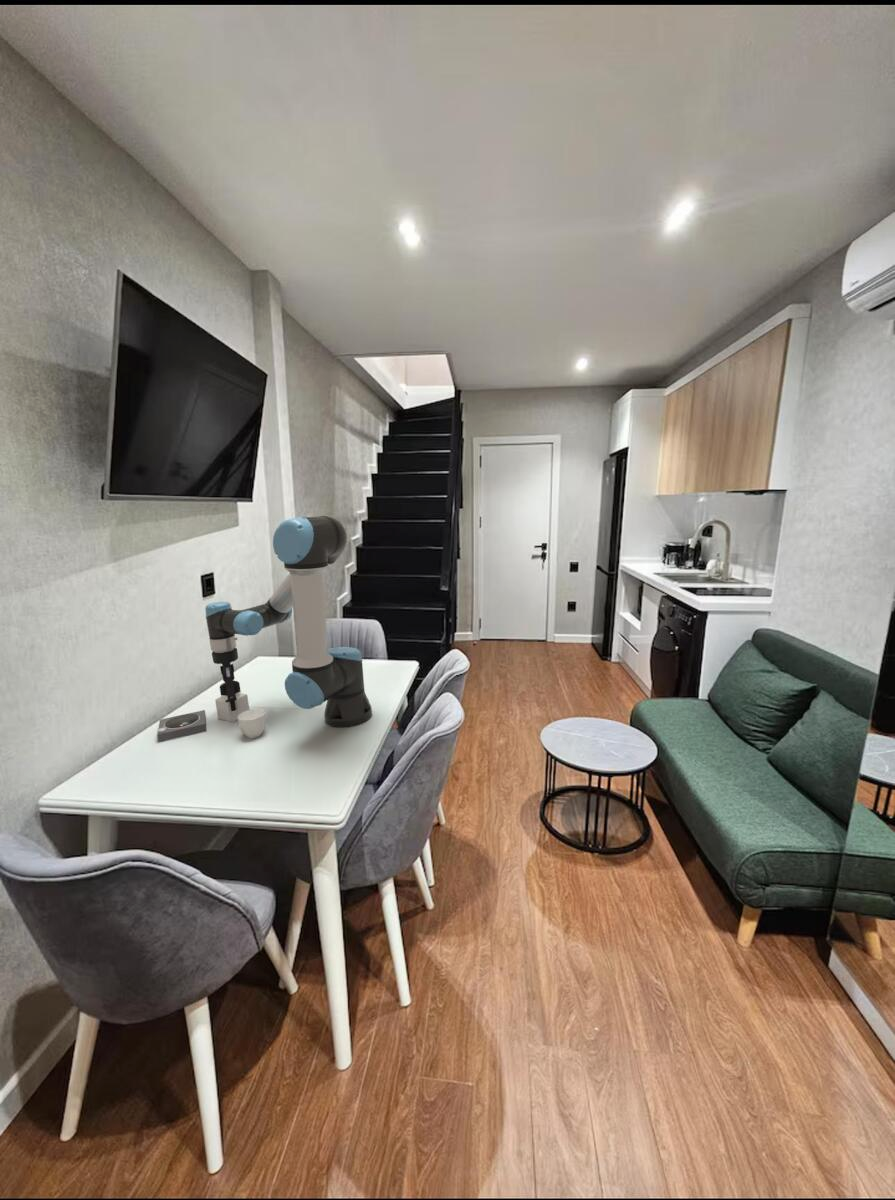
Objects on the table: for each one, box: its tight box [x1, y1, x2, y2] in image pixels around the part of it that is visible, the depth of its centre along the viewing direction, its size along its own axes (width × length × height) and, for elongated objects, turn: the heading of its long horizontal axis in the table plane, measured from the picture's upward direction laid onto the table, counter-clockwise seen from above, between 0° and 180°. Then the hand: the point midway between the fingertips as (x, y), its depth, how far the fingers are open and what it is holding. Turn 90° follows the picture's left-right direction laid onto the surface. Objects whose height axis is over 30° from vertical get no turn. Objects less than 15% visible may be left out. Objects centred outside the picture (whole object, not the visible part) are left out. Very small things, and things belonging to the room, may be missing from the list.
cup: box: [237, 708, 267, 739], centre depth 145 cm, size 8×10×7 cm
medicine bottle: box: [215, 680, 250, 723], centre depth 157 cm, size 7×7×12 cm
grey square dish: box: [156, 709, 207, 743], centre depth 151 cm, size 12×13×3 cm
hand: (233, 713), depth 158 cm, fingers closed on medicine bottle, 10 cm apart
